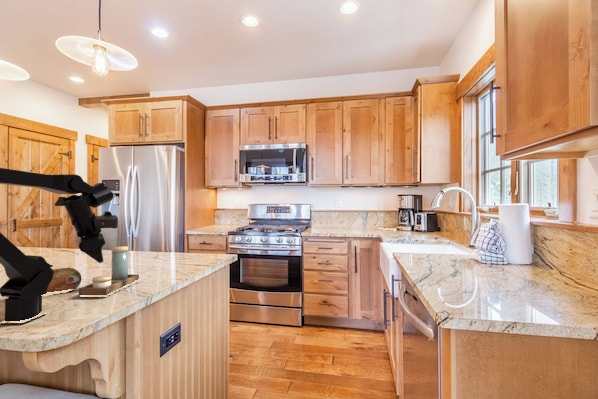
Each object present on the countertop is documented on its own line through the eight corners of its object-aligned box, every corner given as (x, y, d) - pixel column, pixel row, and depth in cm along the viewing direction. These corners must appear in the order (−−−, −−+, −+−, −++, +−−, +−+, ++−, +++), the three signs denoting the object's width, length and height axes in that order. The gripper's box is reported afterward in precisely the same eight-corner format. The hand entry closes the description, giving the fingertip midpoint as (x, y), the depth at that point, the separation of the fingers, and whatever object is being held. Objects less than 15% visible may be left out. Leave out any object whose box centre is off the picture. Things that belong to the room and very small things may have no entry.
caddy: (105, 298, 88) (105, 288, 88) (78, 297, 88) (79, 288, 88) (138, 282, 106) (138, 274, 106) (116, 282, 106) (116, 274, 106)
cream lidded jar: (104, 296, 90) (104, 279, 90) (88, 296, 90) (88, 279, 90) (115, 291, 95) (115, 275, 95) (100, 291, 95) (100, 275, 95)
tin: (19, 300, 86) (19, 273, 86) (20, 298, 88) (21, 271, 88) (81, 291, 95) (81, 266, 96) (80, 289, 98) (81, 265, 98)
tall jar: (124, 287, 99) (125, 248, 100) (108, 288, 98) (108, 248, 99) (130, 283, 104) (130, 246, 105) (114, 284, 103) (115, 246, 104)
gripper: (114, 212, 83) (132, 256, 89) (107, 199, 97) (123, 238, 103) (69, 226, 77) (91, 273, 83) (68, 210, 91) (87, 250, 97)
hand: (100, 257), depth 91 cm, fingers open, 9 cm apart
